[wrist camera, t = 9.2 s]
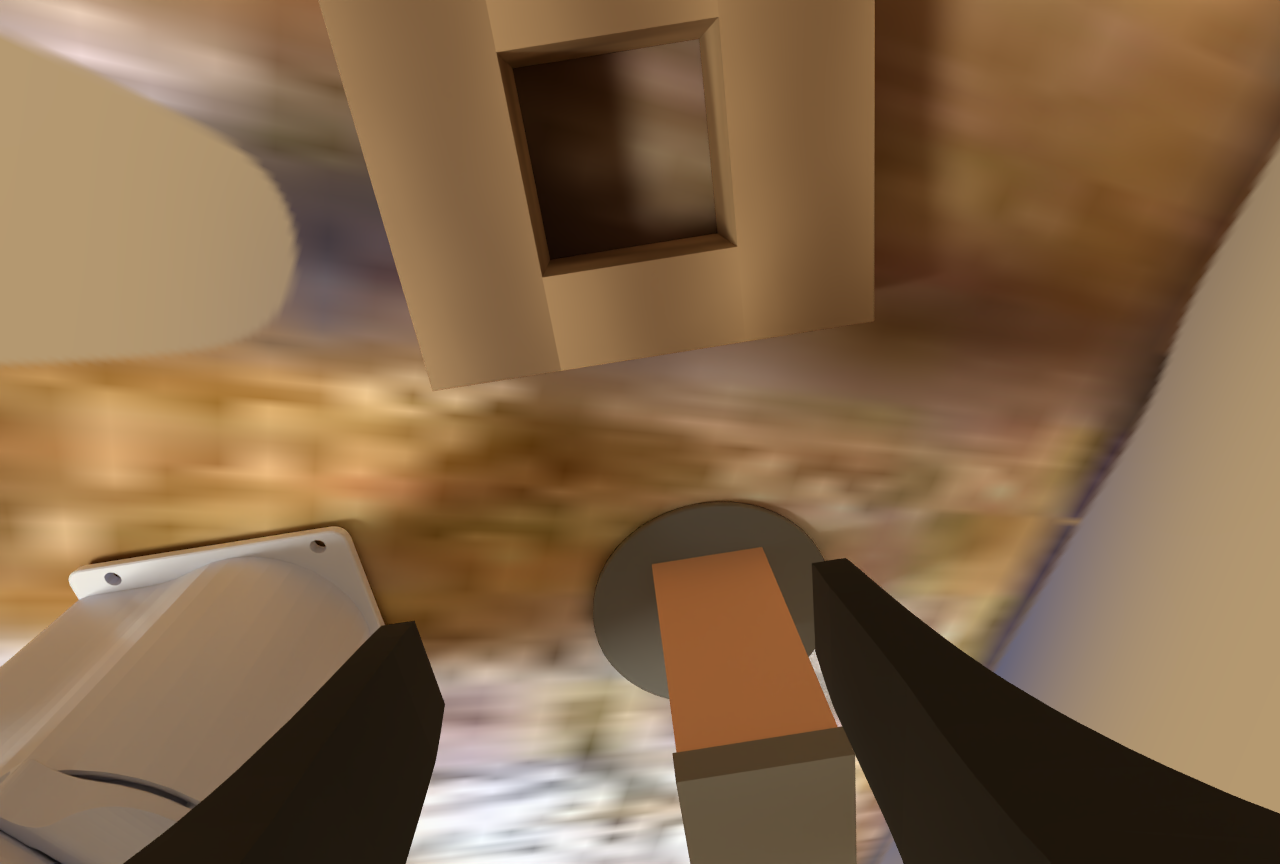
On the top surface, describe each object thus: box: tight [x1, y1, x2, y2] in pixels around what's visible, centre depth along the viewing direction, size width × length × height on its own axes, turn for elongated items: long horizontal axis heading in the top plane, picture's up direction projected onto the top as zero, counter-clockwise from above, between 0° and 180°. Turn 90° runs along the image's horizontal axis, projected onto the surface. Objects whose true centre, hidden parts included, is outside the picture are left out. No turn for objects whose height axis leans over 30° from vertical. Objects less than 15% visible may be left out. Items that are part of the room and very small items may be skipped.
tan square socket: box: [318, 0, 875, 391], centre depth 17 cm, size 12×10×3 cm
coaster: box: [593, 502, 824, 699], centre depth 24 cm, size 9×9×1 cm
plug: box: [652, 547, 857, 864], centre depth 20 cm, size 4×4×9 cm
